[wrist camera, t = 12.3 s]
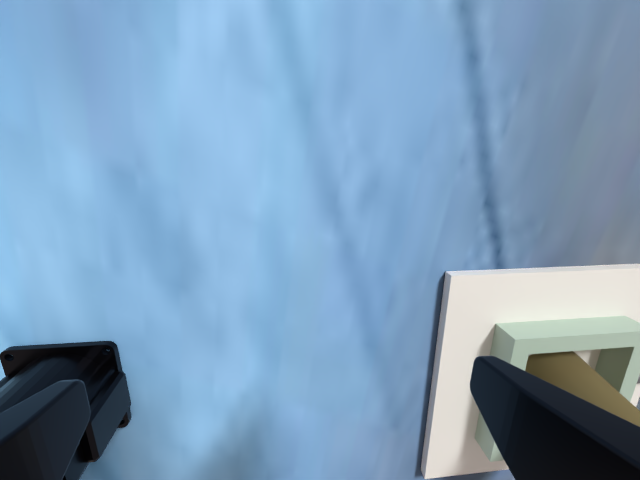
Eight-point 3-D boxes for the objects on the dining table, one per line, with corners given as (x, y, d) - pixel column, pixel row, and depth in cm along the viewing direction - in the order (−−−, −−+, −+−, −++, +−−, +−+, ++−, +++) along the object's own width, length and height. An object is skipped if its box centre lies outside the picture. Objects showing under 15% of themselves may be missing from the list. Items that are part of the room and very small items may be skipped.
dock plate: (420, 469, 27) (435, 505, 24) (445, 271, 22) (468, 288, 19) (614, 447, 29) (648, 478, 26) (678, 262, 24) (728, 276, 21)
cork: (543, 334, 23) (757, 486, 13) (597, 363, 25) (828, 522, 14) (494, 396, 25) (654, 583, 14) (548, 421, 26) (729, 606, 15)
